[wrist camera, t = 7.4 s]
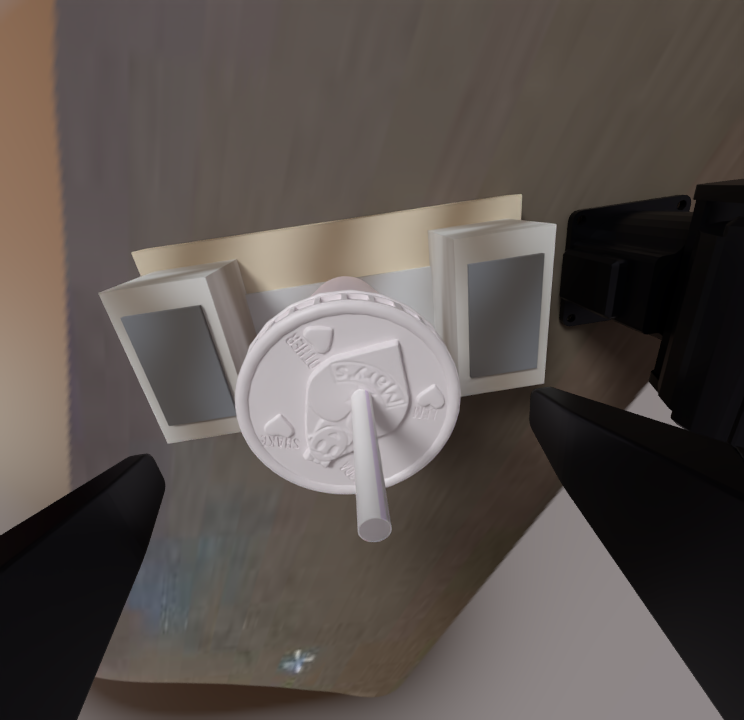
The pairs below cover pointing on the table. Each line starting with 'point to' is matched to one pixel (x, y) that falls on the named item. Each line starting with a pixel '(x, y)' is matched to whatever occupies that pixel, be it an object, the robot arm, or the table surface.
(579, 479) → the robot arm
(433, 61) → the table surface
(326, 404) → the smoothie
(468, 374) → the board
